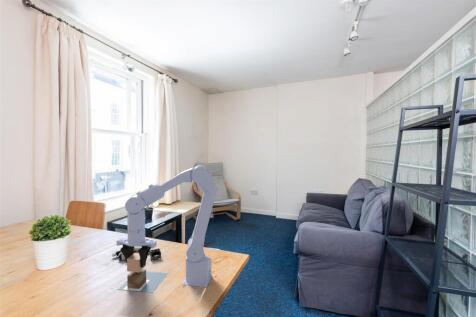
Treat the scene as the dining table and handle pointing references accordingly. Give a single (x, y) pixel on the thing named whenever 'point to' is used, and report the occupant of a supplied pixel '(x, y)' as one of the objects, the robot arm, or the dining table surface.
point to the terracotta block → (134, 263)
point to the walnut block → (136, 279)
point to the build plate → (154, 253)
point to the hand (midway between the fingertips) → (136, 265)
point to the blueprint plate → (147, 282)
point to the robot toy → (123, 255)
